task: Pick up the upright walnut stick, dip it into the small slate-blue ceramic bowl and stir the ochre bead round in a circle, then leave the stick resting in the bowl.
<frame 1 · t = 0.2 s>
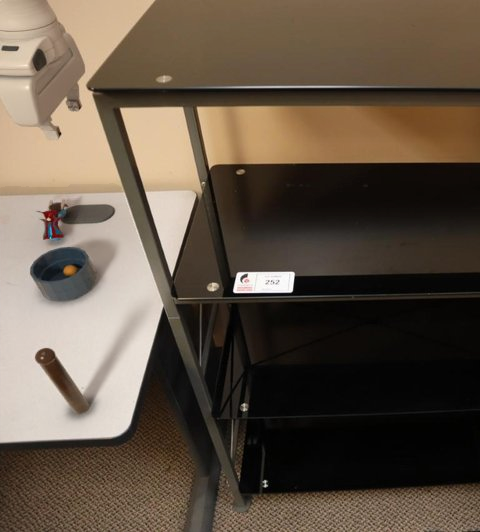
hand: (66, 123, 87), 29 cm above the table, tool pointing down, fingers open, 8 cm apart
hoverbike: (59, 229, 110), on the table
bowl: (70, 284, 99), on the table
bead a: (70, 271, 99), point 2 cm above the table, touching bowl
stick: (81, 407, 81), on the table
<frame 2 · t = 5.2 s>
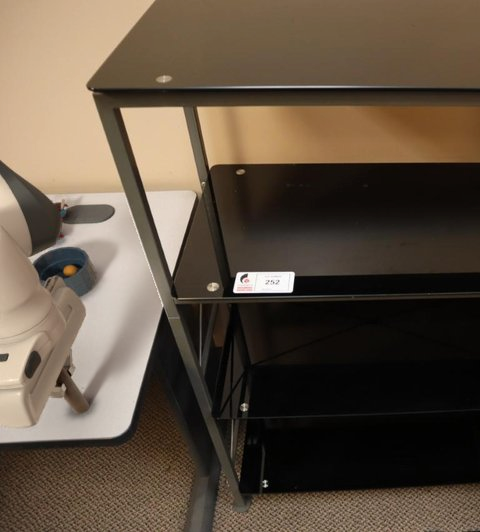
hand: (64, 383, 76), 7 cm above the table, tool pointing down, fingers closed on stick, 2 cm apart
stick: (81, 407, 81), on the table, touching gripper
everything else where it was.
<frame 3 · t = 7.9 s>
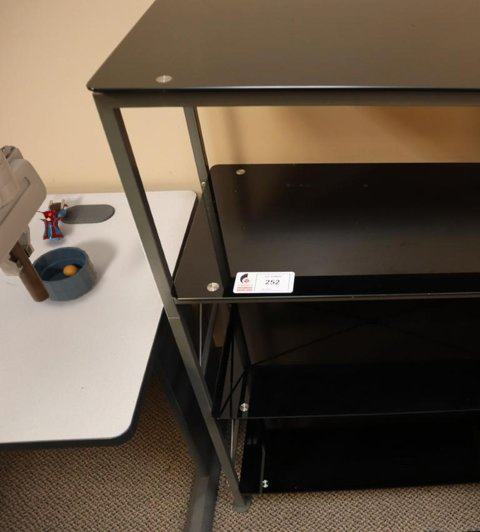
hand: (21, 263, 72), 22 cm above the table, tool pointing down, fingers closed on stick, 2 cm apart
stick: (41, 296, 77), point 15 cm above the table, touching gripper
everything else where it was.
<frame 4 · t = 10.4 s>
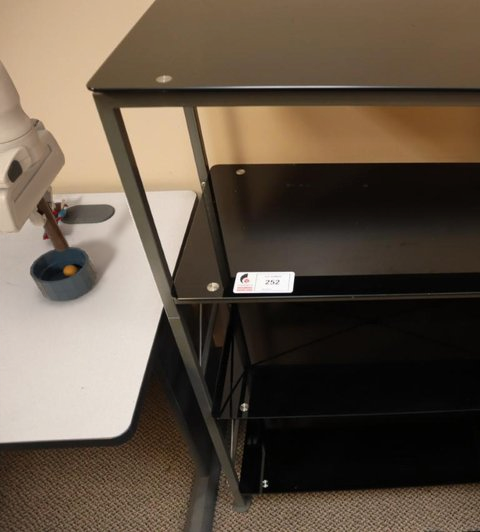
hand: (45, 217, 87), 17 cm above the table, tool pointing down, fingers closed on stick, 2 cm apart
stick: (62, 247, 92), point 10 cm above the table, touching gripper
everything else where it was.
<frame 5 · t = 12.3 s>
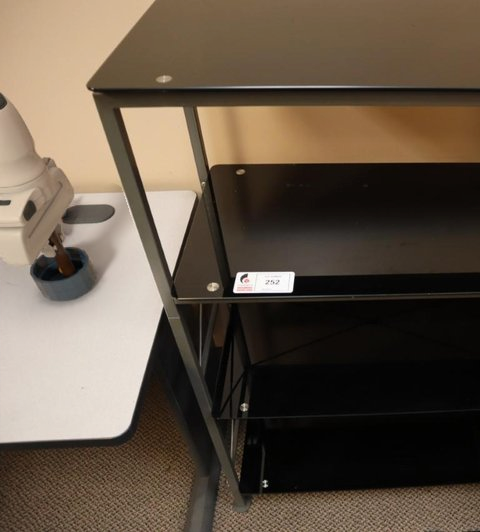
hand: (56, 247, 94), 9 cm above the table, tool pointing down, fingers closed on stick, 2 cm apart
bead a: (66, 268, 99), point 2 cm above the table, tilted 55°, touching bowl, stick
stick: (72, 276, 99), point 1 cm above the table, touching bead a, gripper
everything else where it was.
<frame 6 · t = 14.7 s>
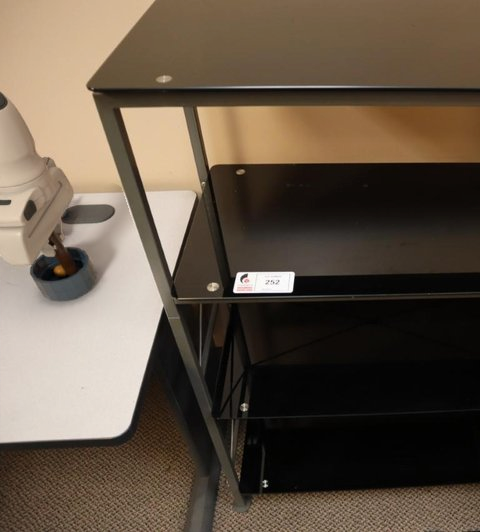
hand: (55, 247, 94), 9 cm above the table, tool pointing down, fingers closed on stick, 2 cm apart
bead a: (61, 271, 99), point 2 cm above the table, tilted 51°, touching bowl
stick: (74, 274, 99), point 1 cm above the table, touching gripper
everything else where it was.
when the fingers open (8 cm above the table, at t = 15.6 s): stick stays where it is, resting on bowl.
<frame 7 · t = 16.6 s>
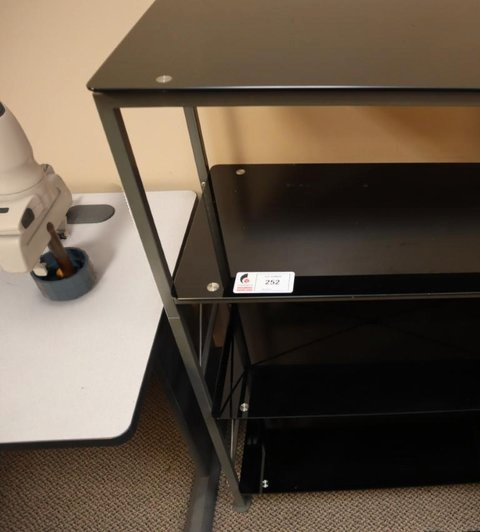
hand: (54, 254, 93), 8 cm above the table, tool pointing down, fingers open, 8 cm apart
bead a: (64, 273, 98), point 2 cm above the table, touching bowl
stick: (74, 282, 99), point 1 cm above the table, touching bowl
everything else where it was.
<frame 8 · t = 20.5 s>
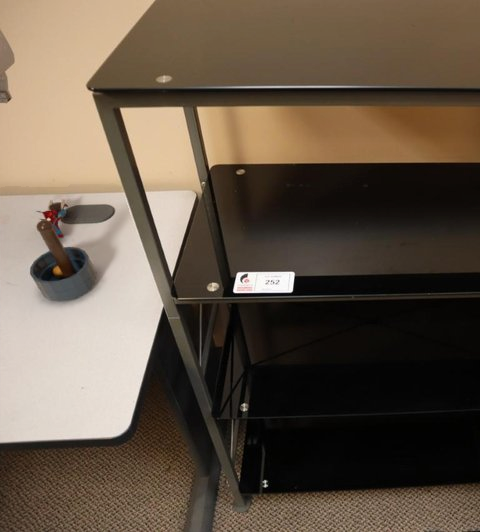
bead a: (60, 271, 99), point 2 cm above the table, tilted 52°, touching bowl
everything else where it was.
at the end: bead a moved 1.9 cm from its start; stick inside the target area in the bowl (0.9 cm from its centre), point 0.6 cm above the bowl's base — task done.
